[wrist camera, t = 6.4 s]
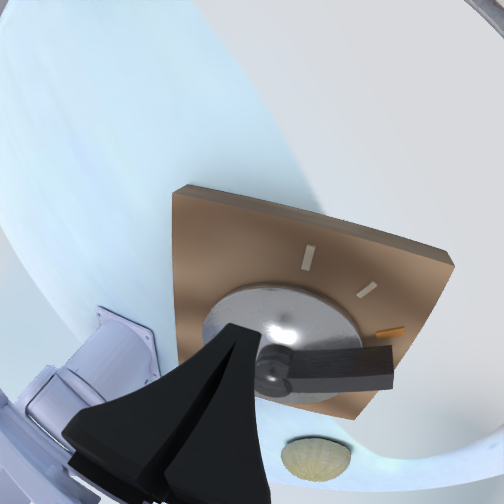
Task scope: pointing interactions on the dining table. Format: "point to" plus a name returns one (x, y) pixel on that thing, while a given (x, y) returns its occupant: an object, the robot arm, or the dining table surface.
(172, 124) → the dining table surface
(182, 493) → the robot arm
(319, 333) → the dial
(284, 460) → the sea urchin shell
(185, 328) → the dial base
